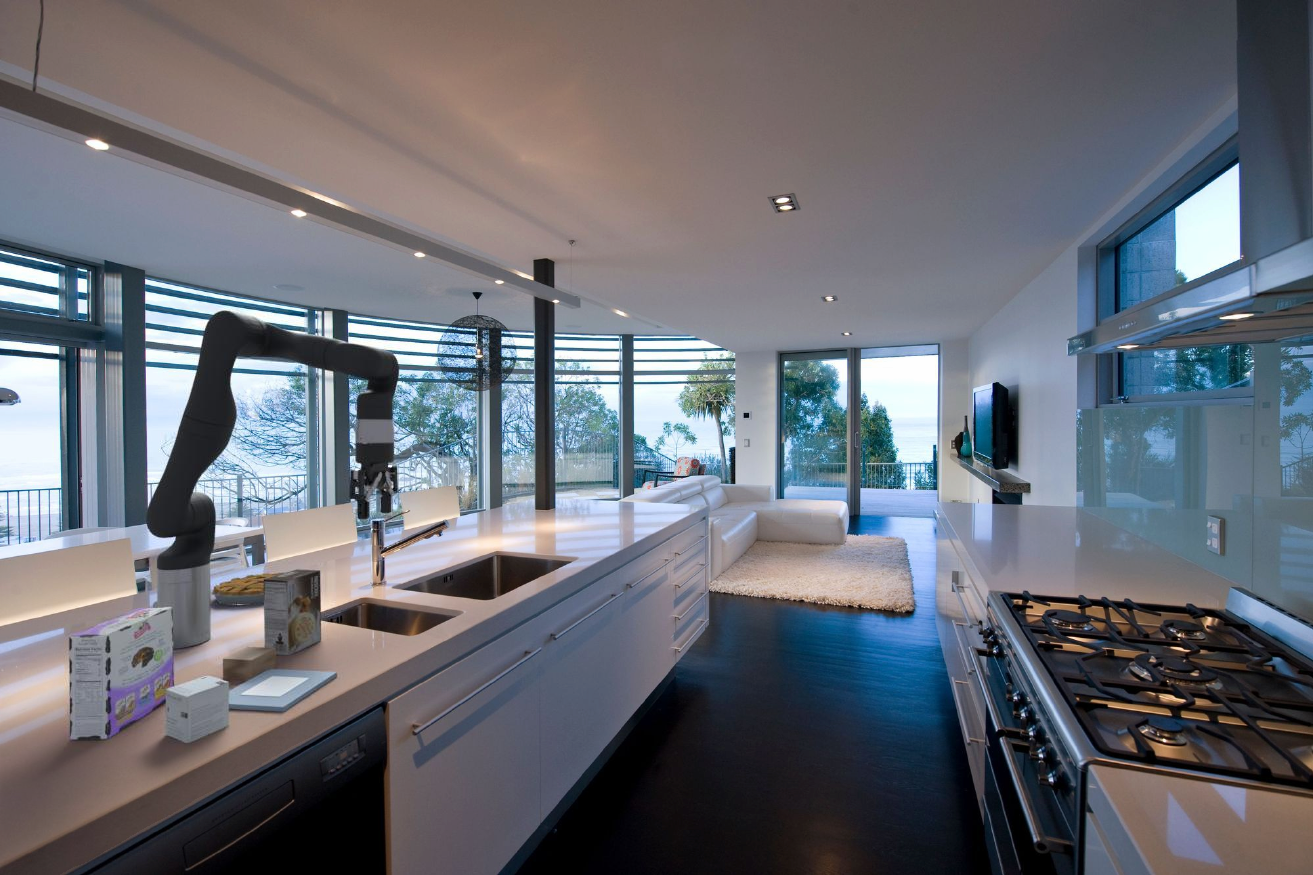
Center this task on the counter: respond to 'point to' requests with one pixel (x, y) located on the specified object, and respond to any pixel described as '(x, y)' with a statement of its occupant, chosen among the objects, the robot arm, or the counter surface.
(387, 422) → the robot arm
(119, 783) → the counter surface
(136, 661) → the candy box
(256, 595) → the pie
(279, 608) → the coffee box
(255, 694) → the board
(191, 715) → the skincare box
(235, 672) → the walnut block
